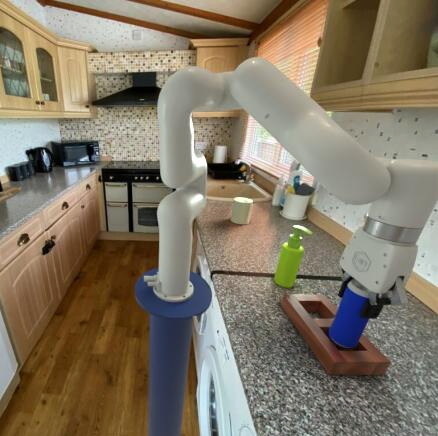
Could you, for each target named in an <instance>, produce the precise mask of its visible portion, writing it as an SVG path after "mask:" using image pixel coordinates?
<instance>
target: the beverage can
mask: <svg viewBox="0 0 438 436" xmlns="http://www.w3.org/2000/svg"><path fill="white" fill-rule="evenodd" d="M379 298H381V293H379ZM369 300H370V290H369V289H367V288H366V287H365V286H363V285H362V284H361V283H359V282H358V281H357V280H356V279H353V280H351V281H350V282H349V283H348V285H347V287H346V290H345V292H344V295H343V297H342V298H341V299H340V302H339V305H338V307H337V308H338V309H337V312H336V314H335V317H334V319H333V322H332V324H331V327H330V329H329V336H330V337H331V339H330V340H332V342H334V343H335V344H337V345H338V346H340V347H342V348H345V349H348V348H353V347H356V346H357V343H358V341H359V339H360V337H361V335H362V333H363V334H364V331H365V329H366V327H367V324H368V323H369V321H370V319H362V318H361V317H360V316H359V314H360V312H361V310H362V307H363V305H364V303H365V301H369Z"/></svg>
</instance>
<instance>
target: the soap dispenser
mask: <svg viewBox="0 0 438 436" xmlns="http://www.w3.org/2000/svg"><path fill="white" fill-rule="evenodd" d="M291 228H292V229H294V231H293V234H290V235H289V236H288V241H287V242H284V243H282V244H281V249H280V253H279V258H278V261H277V264H276V269H275V271H274V272H275V273H274V277H273V281H274V283H275V284H276V285H278V286H279V287H283V288H287V289H288V288H289V289H290V288H293V287H294V286H295V282H296V279H297V276H298V272H299V269H300V265H301V262H302V260H303V255H304V252H305V248H304V247H303V246H302V243H303V237H302V236H301V234H302V233H304V234H305V235H306V236H310V235H313V234H314V232H313V231H312V230H310V229H308V228H307V227H304V226H301V225H297V224H295V225H292V226H291Z"/></svg>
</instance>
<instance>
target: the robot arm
mask: <svg viewBox="0 0 438 436" xmlns="http://www.w3.org/2000/svg"><path fill="white" fill-rule="evenodd" d="M156 109H157V110H156V111H157V113H156V116H157V126H158V144H159V145H158V149H159V151H158V152H159V172H160V178H161V182H162V183H163V184H164V185H165V186H166V187H168V188H170V189H175V190H174V191H173V192H171V193H169V194H168V195H166V196H165V197H163V198H162V199H161V201H160V202H159V203H158V206H157V210H156V218H157V223H158V231H159V232H158V236H159V241H158V243H159V244H158V246H159V248H158V268H159V272H157V275H154V276H144V282H148V286H153V290H154V293H155V294H156V295H157V296H158V297H159V298H161V299H162V300H165V301H168V302H182V301H185V300H187V299H189V298H190V297H191V296H192V294H193V285H192V283H191V282H190V281H189V276H190V271H191V265H192V264H191V263H192V255H193V254H192V253H193V230H192V224H193V221H194V220H195V219H196V218H197V217H198V216H199V215H200V214H202V212H203V211H204V209H205V207H206V204H207V190H208V189H207V188H208V164H207V160H206V157H205V155H204V154H203V153H202V152H201V150H199V149H198V148H196V147H195V146H194V143H195V142H194V141H195V140H194V139H195V132H194V131H195V130H194V124H193V119H192V115H193V113H195V112H201V113H202V112H203V113H211V112H212V113H213V112H222V111H236V110H244V111H245V112H246V113H247V114H248V115H249V116H250V117H252V118H253V120H255V121H256V122H257V123H258V124H259V125H260V126H261V127H262V128H263V129H265V131H266V132H267V133H268V134H269V135H270V136H271V137H272V138H273V139H274V140H275V141H276V142H277V143H278V144H279V145H280V146H281V147H282V148H283V149H284V150H285V151H286V152H287V153H288V154H289V155H291V156H292V157H293V159H295V160H296V162H298V163H299V164H300V165H301V167H303V168H304V169H305V170H306V172H307V173H309V174H310V175H311V177H313V178H314V180H316V181H317V182H318V183H319V184H320V185H321V186H322V187H323V188H324V189H326V191H328V193H330V195H332V196H333V197H334V198H335V199H337V200H338V201H340V202H342V203H344V204H347V205H351V206H364V205H369V204H370V205H369V208H368V211H367V212H366V213H365V214H364V215H363V219H364V221H363V224H362V225H360V226H359V225H358V227H357V228H356V230H355V231H354V232H353V233H352V235H351V237H350V239H349V240H348V242H347V244H346V246H345V248H344V250H343V252H342V255H340V256H339V257H338V261H339V266H340V269H341V272H342V275H341V280H342V283H341V286H340V288H339V290H338V294H337V297H339V298H340V299H342V297H343V295H344V292H345V290H346V287H347V285H348V283H349V282H350V281H351V280H353V279H356V280H357V281H358V282H359V283H361V284H362V285H363V286H365V287H366V288H367V289H369V290H370V300H369V301H365V303H364V305H363V307H362V310H361V312H360V314H359V316H360V317H361V318H362V319H369V320H370V319H371V320H373V319H374V320H375V319H377V318H379V316H380V314H381V312H382V310H383V308H384V306H409V304H410V303H409V299H408V295H407V291H406V289H405V288H406V286H407V284H408V282H409V280H410V278H411V275H412V273H413V270H414V267H415V264H416V260H417V257H418V256H417V255H418V252H419V245H418V244H417V242H419V241H418V240H419V239H420V236H421V234H422V232H423V231H424V229H425V226H426V224H427V222H428V221H429V218H430V217H431V215H432V212H433V211H434V208H435V207H436V205H437V202H438V161H436V160H428V159H419V158H417V159H416V158H399V159H398V158H387V157H381V156H376V155H375V156H374V155H373V154H372V153H371V152H370V151H368V150H367V149H366V148H365V147H364V146H363V145H361V144H360V143H359V141H357V140H355V139H354V138H353V136H351V135H350V134H349V133H348V132H346V130H344V128H342V127H341V126H340V125H339V124H338V123H337V122H336V121H335V120H334V119H333V118H332V117H331V115H329V113H327V111H326V110H325V109H324V108H323V107H322V106H321V105H320V104H318V102H317V101H316V100H314V99H313V98H312V97H311V96H310V95H308V94H307V93H306V92H305V91H304V90H303V89H301V88H300V87H299V86H298V85H297V84H296V83H295V82H293V80H291V78H289V77H288V76H287V75H286V74H284V72H282V71H281V69H279V68H278V67H277V66H275V65H274V64H273V63H272V62H271V61H270V60H268V59H266V58H264V57H261V56H254V57H250V58H248V59H245V60H243V62H241V63H240V64H239V65H238V66H237V67H236V68H235V70H231V71H224V72H223V71H222V72H216V73H214V72H212V71H210V70H208V69H206V68H204V67H201V66H198V65H197V66H195V65H190V66H185V67H183V68H180V69H178V70H177V71H175V72H174V73H173V74H171V76H169V77H168V78H167V80H166V81H165V82H164V84H163V86H162V88H161V89H160V92H159V95H158V99H157V106H156ZM379 293H380V298H379ZM391 294H392V297H391Z"/></svg>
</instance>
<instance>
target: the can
mask: <svg viewBox="0 0 438 436" xmlns="http://www.w3.org/2000/svg"><path fill="white" fill-rule="evenodd" d="M253 202H254V200H253V199H252V198H249V197H245V196H244V197H243V196H238V197H237V196H236V197H234V198H233V203H232V209H231V214H230V221H231V222H232V223H234V224H237V225H248V224H249V223H250V218H251V212H252V207H253Z"/></svg>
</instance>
